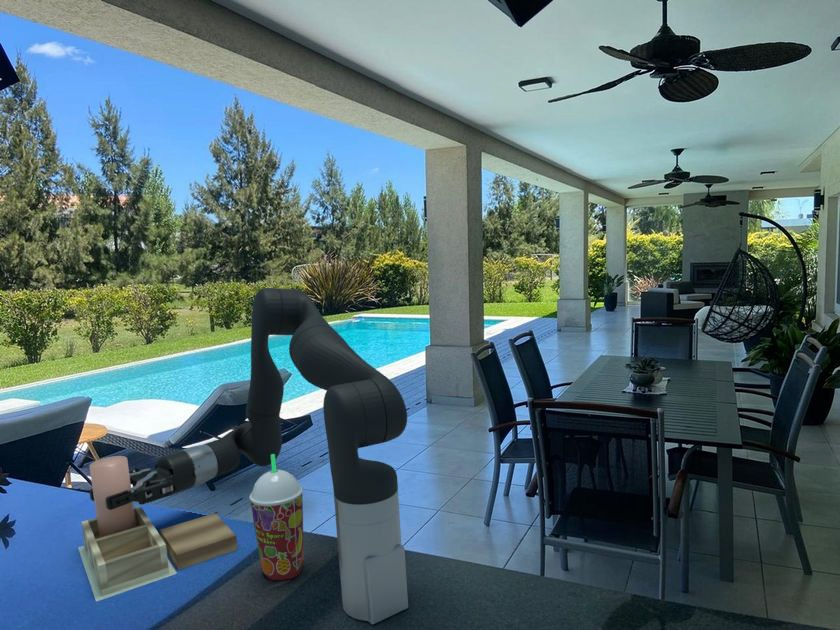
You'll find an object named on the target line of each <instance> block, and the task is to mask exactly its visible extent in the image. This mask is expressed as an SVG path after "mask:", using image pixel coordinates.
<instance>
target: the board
mask: <svg viewBox="0 0 840 630" xmlns="http://www.w3.org/2000/svg"><path fill="white" fill-rule="evenodd" d="M159 535H160V536H161V538H162V539H163V541H164V542H165V544H166V549H167V555H168V556H169V557H170V559H171V561H172V562H173V563H174V565H175V567H176V568H177V570H178V571H181V570H183V569H186V568H189V567H192V566H194V565H197V564H200V563H204V562H206V561H210V560H212V559H214V558H217V557H221V556H224V555H226V554H229V553H232V552H235V551H238V541H237V535H236V534H235V533H234V531H233V530H231V528H230V527H229V526H228V525H227V524H226V523H225V522H224V520H222V518H220V516H219V515H217V513H216V512H213V513H211V514H210V513H209V514H207V515H204V516H201V517H198V518H195V519H190V520H188V521H184V522H181V523H177V524H175V525H171V526H168V527H164V528H161V529H159Z"/></svg>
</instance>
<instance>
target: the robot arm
mask: <svg viewBox="0 0 840 630" xmlns="http://www.w3.org/2000/svg"><path fill="white" fill-rule="evenodd" d="M250 329H251V334H250V335H251V336H250V337H251V339H250V380H249V389H248V396H247V399H246V400H247V402H246V407H245V408H246V409H245V416H246V419H247V420H248V422H243V423H241V424H240V425H238V426H237V427H235V428H234V429H232V430H231V431H229V432H228V433H226V434H225V435H224V436H222V437H220V438H219V439H216V440H215V439H214V440H212V441H209V442H206V443H203V444H198V445H193V446H190V447H187V448H184V449H181V450H177V451H174V452H172V453H168V454H166V455H163V456H160V457H159V458H158V459H157V461H156V464H155V466H154V467H153V468H143V469H141V470H140V467H139V466H135V467H133V468H130V469H129V476H130V483H131V485H132V486H131V489H129V492H128V491H127V490H125V491H123V492H120V493H117V494H114V495H111V496H109V497H107V498H106V499H105V501H106V508H107V509H109V510H112V509H115V508H117V507H120V506H123V505H125V504H128V503H130V502H131V503H132V504H133V505H134V504H136V503H138V504H139V506H142V505H145V504H148V503H152V502H155V501H157V500H160V499H164V498H166V497H169V496H170V497H171V496H173V495H175V494H176V495H177V494H178V493H181V492H184V491H186V490H188V489H191V488H194V487H197V486H199V485H201V484H204V483H206V482H208V481H210V480H211V479H214V478H216V477H218V476H222V475H223V474H226V473H230V472H231V471H233V470H235V469H237V467H238V466H239V465H240V462H241V454H240V453H242V454H243V455H244V456H245V457H246V458H247V459H248V460H250V461H251V462H252V463H253V464H254V465H256V466H259V467H268V466H270V465H272V464H271V455H272V454H275V461H276V460H277V459H278V457H279V455H280V453H281V450H282V445H283V437H282V434H283V433H282V423H281V418H280V417H281V415H280V414H281V409H282V404H283V398H284V389H285V386H284V382H283V377H282V374H281V373H280V370H279V369H278V366H277V365H276V363H275V362H274V360H273V357H272V355H271V351H270V349H269V337H270V336H292V337H291V338H290V341H289V345H288V352H289V357H290V360H291V362H292V363H293V365H294V367H295V368H296V370H297V371H298V372H299V374H300V375H301V376H302V378H303V379H304V380H305V381H307V382H308V383H309V384H311V385H312V386H314V387H317V388H319V389H321V390H324V391H326V392H325V393H324V396H323V403H322V404H323V405H322V406H323V420H324V427H325V428H324V429H325V434H326V440H327V449H328V455H329V468H330V475H331V481H332V486H333V488H332V489H333V490H332V491H333V499H334V513H335V514H334V515H335V526H336V539H337V551H338V565H339V576H340V577H339V579H340V587H341V598H342V600H341V601H342V608H343V611H344V612H345V614H347V616H350V617H351V618H352V619H356V620H359V621H363V622H364V621H366V622H368V623H369V624H371V625H374V624H377V623H380V622H382V621H383V620H386V619H387V618H389V617H392V616H394V615H396V614H398V613H401V612H402V611H404V610H406V609H408V608H409V601H408V599H409V598H408V597H409V596H408V583H407V570H406V569H407V566H406V554H405V552H406V551H405V550H406V549H405V547H404V546H403V544H402V532H401V531H402V530H401V519H400V518H401V517H400V516H401V515H400V501H399V500H400V499H399V485H398V484H399V483H398V474H397V472H396V469H395V468H394V467H393V466H391V465H389V463H385V462H382V461H378V460H370V459H365V458H361V457H359V449H361V448H365V447H366V448H367V447H371V446H375V445H378V444H379V445H380V444H384V443H387V442H390V441H393V440H395V439H397V438H398V437H400V436H401V435H402V434H403V433H404V431H405V429H406V427H407V423H408V411H407V408H406V407H407V406H406V403H405V400H404V398H403V396H402V394H401V392H400V390H399V388H397V386H396V385H395V384H394V382H392V380H390V379H389V378H388V377H387V376H386V375H384V374H383V373H382V372H380V371H379V370H378V369H376V368H375V367H373V366H372V365H371V364H369V363H368V362H367V361H366V360H365V359H363V357H361V356H360V355H359V354H358V353H357V352H356V351H355V349H353V348H352V347H351V346H350V345H349V344H348V342H346V340H345V339H344V338H343V337H342V336H341V335H340V334H339V333H338V331H336V330H335V328H333V327H332V326H331V325H330V324H329V322H328V321H327V320H326V319H325V317H324V316H323V315H322V314H321V312H320V311H319V309H318V307H317V306H316V305H315V303H314V301H313V300H312V298H311V297H310V296H309V294H308V293H307V292H305V291H304V290H301V289H293V288H276V287H275V288H274V287H263V288H261V289H260V288H259V290H258V291H257V292H256V294H255V295H254V300H253V304H252V311H251V328H250ZM89 498H90V501H93V502H94V495H93V488H90V489H89Z"/></svg>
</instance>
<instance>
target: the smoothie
mask: <svg viewBox="0 0 840 630" xmlns="http://www.w3.org/2000/svg"><path fill="white" fill-rule="evenodd" d="M276 463H277V461H276V460H275V454H272V455H271V464H270V465H271V470H269V471H266V472H265V473H263V474H262V475H260V477H259V478H258V479H256V482H255V484H254V486H253V489H252V491H251V492H250V494H249V497H248V498H249V500H250V501H249V502H250V507H251V513H252V519H253V520H252V521H253V525H254V530H255V532H254V533H255V536H256V537H255V538H256V543H257V550H258V556H259V562H260V567H261V570H262V573H264V574H265V576H266V578H268V579H269V580H273V581H284V582H285V581H288V580H291V579H293V578H296V577H297V576H299V575H300V573H301V571H302V567H303V566H304V564H305V556H304V555H305V554H304V551H305V549H304V546H305V545H304V509H303V507H304V506H303V505H304V504H303V501H304V500H303V492H304V491H303V487H302V485H301V484H300V483H299V482H298V480H297V478H296V477H295V476H294V475H293V474H291V472H288V471H287V470H283V469H277V464H276Z"/></svg>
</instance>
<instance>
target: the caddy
mask: <svg viewBox="0 0 840 630" xmlns="http://www.w3.org/2000/svg"><path fill="white" fill-rule="evenodd" d="M134 514H135V522H136V527H135V528H132V529H128V530H125V531H121V532H118V533H115V534H111V535H108V536H105V537H101V538H99V531H98V524H97V517H93V518H91V519H86V520H83V521H81V528H82V529H81V530H82V535H83V536H82V537H83V546H85V550H86V552H87V555H88V558H89V561H90V563H91V566H92V569H93V572H94V574H95V577H96V580H97V583H98V586H99V588H100V591H101V594H102V596H104V595H107V594H110V593H113V592H116V591H119V590H122V589H125V588H127V587H130V586H133V585H136V584H139V583H142V582H145V581H148V580H151V579H154V578H157V577H159V576H162V575H165V574H168V573H169V566H168V560H169V559H168V553H167V549H166V544H165V542H164V541H163V539H162V538H161V534H160V532H158V530H157V529H156V527H155V525H154V524H153V522H152V521H151V520H150V518H149V517H148V516H149V515H148V514H146V512H145V510H144V509H143V507H142V505H137V506H134Z"/></svg>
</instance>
